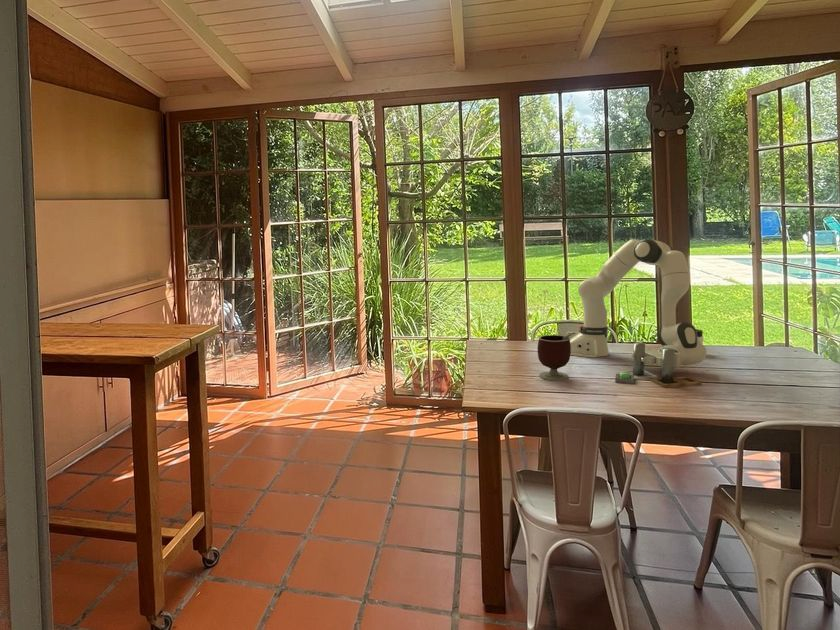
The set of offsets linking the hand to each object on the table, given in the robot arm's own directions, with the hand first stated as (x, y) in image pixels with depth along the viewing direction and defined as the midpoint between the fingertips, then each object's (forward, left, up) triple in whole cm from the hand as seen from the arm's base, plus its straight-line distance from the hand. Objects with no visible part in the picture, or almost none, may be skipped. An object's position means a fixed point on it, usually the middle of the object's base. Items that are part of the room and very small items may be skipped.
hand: (637, 357), depth 225 cm
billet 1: (+1, 0, -8) cm, 8 cm away
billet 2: (+12, -10, -7) cm, 17 cm away
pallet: (+15, -9, -9) cm, 19 cm away
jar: (+25, +51, -9) cm, 57 cm away
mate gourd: (-32, -9, -9) cm, 35 cm away
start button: (-4, -11, -8) cm, 14 cm away
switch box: (-4, -11, -9) cm, 15 cm away
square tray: (+1, 0, -9) cm, 9 cm away
